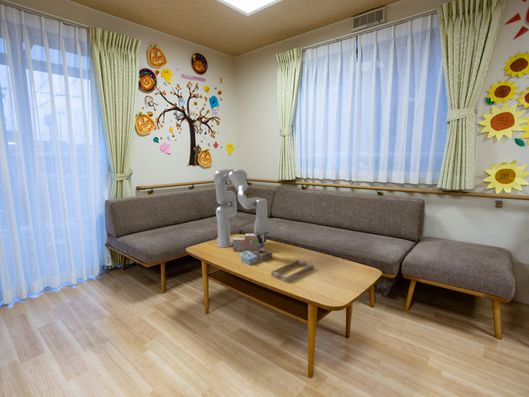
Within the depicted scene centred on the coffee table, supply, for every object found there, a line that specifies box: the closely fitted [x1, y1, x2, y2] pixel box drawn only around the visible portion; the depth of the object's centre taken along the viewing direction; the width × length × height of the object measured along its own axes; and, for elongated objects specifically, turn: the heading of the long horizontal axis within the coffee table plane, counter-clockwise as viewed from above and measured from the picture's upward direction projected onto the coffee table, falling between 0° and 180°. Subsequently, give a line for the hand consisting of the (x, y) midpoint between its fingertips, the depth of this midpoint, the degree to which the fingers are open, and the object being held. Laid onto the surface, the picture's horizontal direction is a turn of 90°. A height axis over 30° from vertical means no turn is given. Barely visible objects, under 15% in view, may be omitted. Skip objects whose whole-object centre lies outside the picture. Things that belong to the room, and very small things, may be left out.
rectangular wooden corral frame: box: [270, 259, 314, 283], centre depth 170 cm, size 12×25×3 cm, turn 135°
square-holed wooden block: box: [251, 248, 273, 262], centre depth 194 cm, size 10×10×4 cm
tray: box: [237, 251, 253, 258], centre depth 197 cm, size 8×8×2 cm
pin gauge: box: [260, 233, 265, 249], centre depth 192 cm, size 3×3×10 cm
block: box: [240, 253, 259, 266], centre depth 187 cm, size 8×8×4 cm
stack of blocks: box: [232, 232, 263, 252], centre depth 208 cm, size 21×6×12 cm, turn 86°
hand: (262, 242), depth 192 cm, fingers closed on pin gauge, 3 cm apart
